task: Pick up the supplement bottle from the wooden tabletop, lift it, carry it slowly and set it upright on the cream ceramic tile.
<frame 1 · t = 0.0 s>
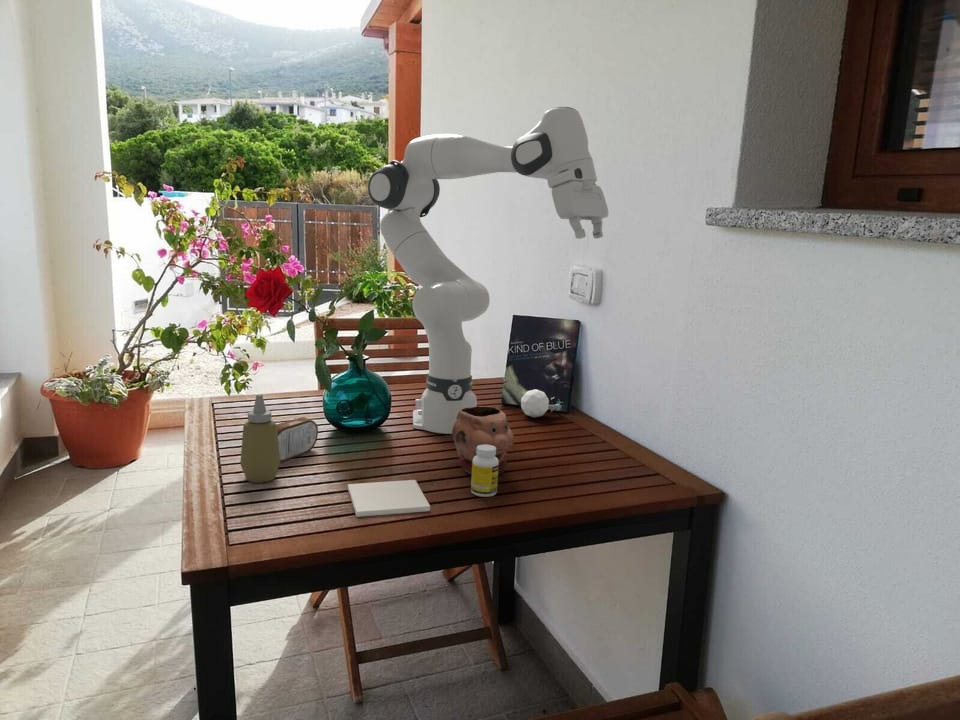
hand: (590, 238, 162), 52 cm above the table, fingers open, 8 cm apart
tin: (292, 457, 164), on the table
supplement bottle: (483, 493, 148), on the table
squeeze bottle: (260, 479, 150), on the table
tile: (387, 499, 142), on the table
perfume bottle: (540, 417, 206), on the table
decorative planter: (478, 469, 162), on the table
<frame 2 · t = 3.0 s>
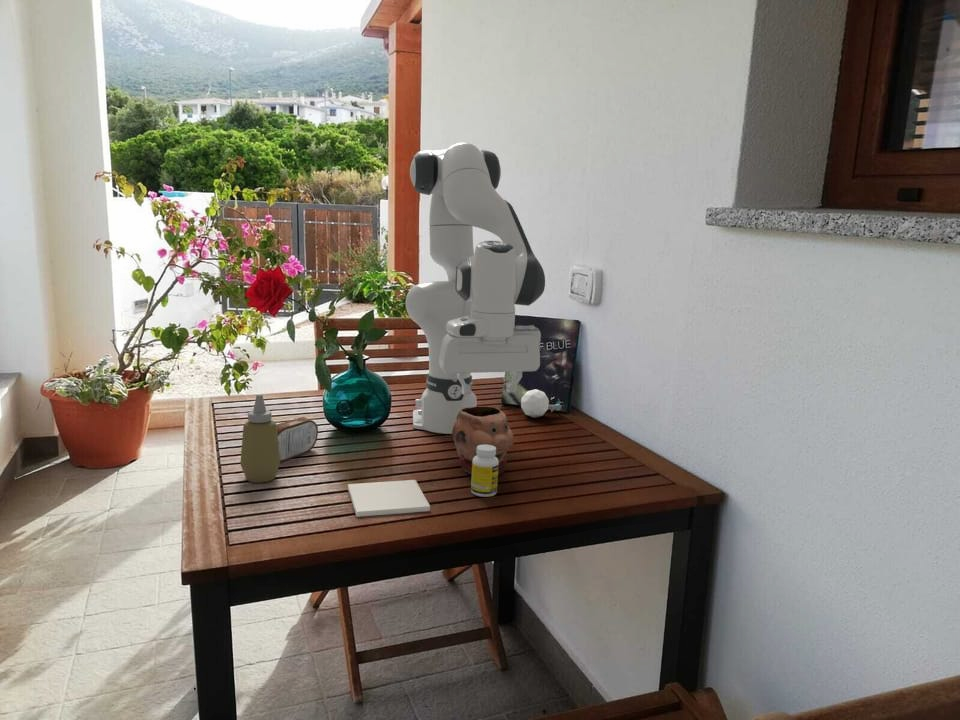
hand: (488, 393, 144), 21 cm above the table, fingers open, 8 cm apart
nothing on the table moved.
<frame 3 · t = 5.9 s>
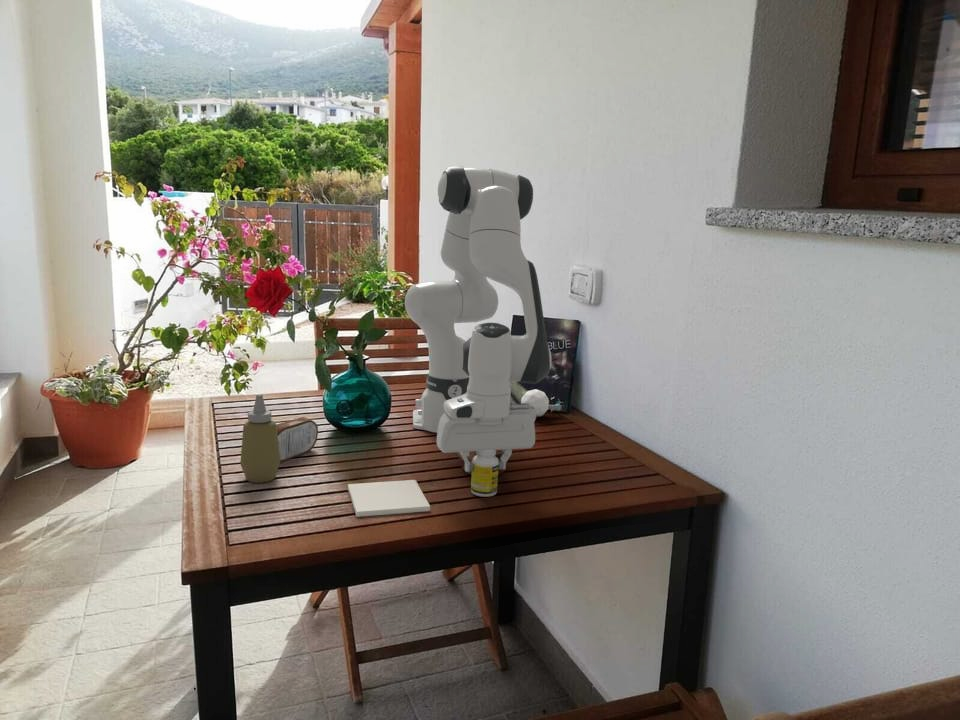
hand: (485, 469, 147), 5 cm above the table, fingers closed on supplement bottle, 5 cm apart
supplement bottle: (483, 493, 148), on the table, touching gripper
everything else where it was.
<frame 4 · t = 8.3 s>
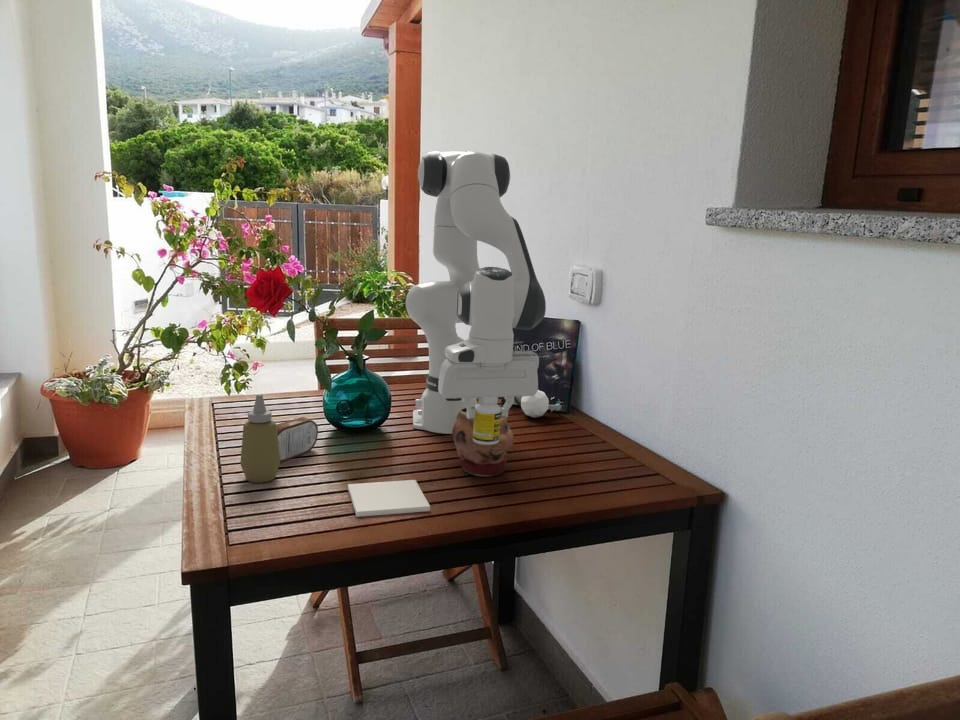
hand: (487, 417, 145), 16 cm above the table, fingers closed on supplement bottle, 5 cm apart
supplement bottle: (486, 442, 146), point 11 cm above the table, touching gripper
everything else where it was.
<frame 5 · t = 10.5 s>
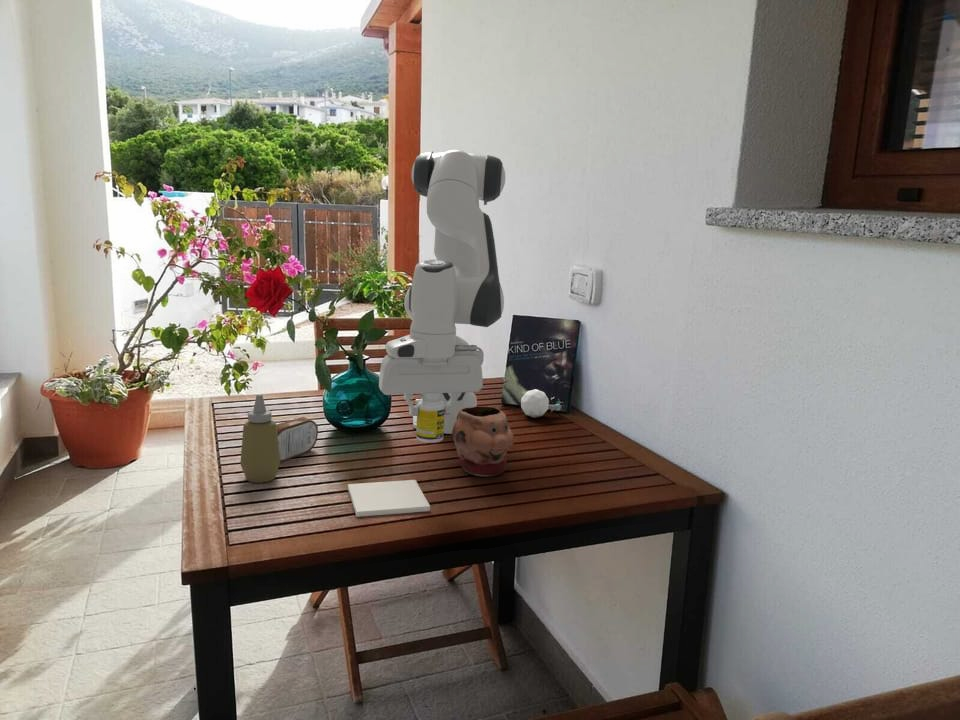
hand: (430, 414, 141), 17 cm above the table, fingers closed on supplement bottle, 5 cm apart
supplement bottle: (430, 440, 142), point 12 cm above the table, touching gripper
everything else where it was.
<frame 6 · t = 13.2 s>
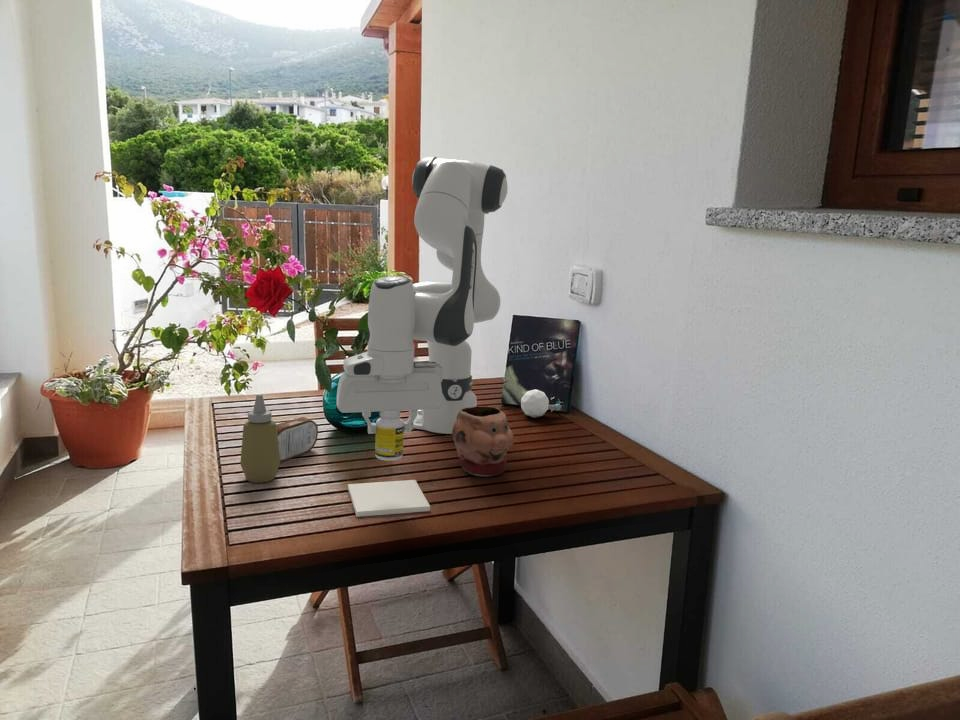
hand: (389, 432, 139), 14 cm above the table, fingers closed on supplement bottle, 5 cm apart
supplement bottle: (389, 457, 140), point 9 cm above the table, touching gripper
everything else where it was.
when the fingers open (7 cm above the table, at t = 15.5 s): supplement bottle stays where it is, resting on tile.
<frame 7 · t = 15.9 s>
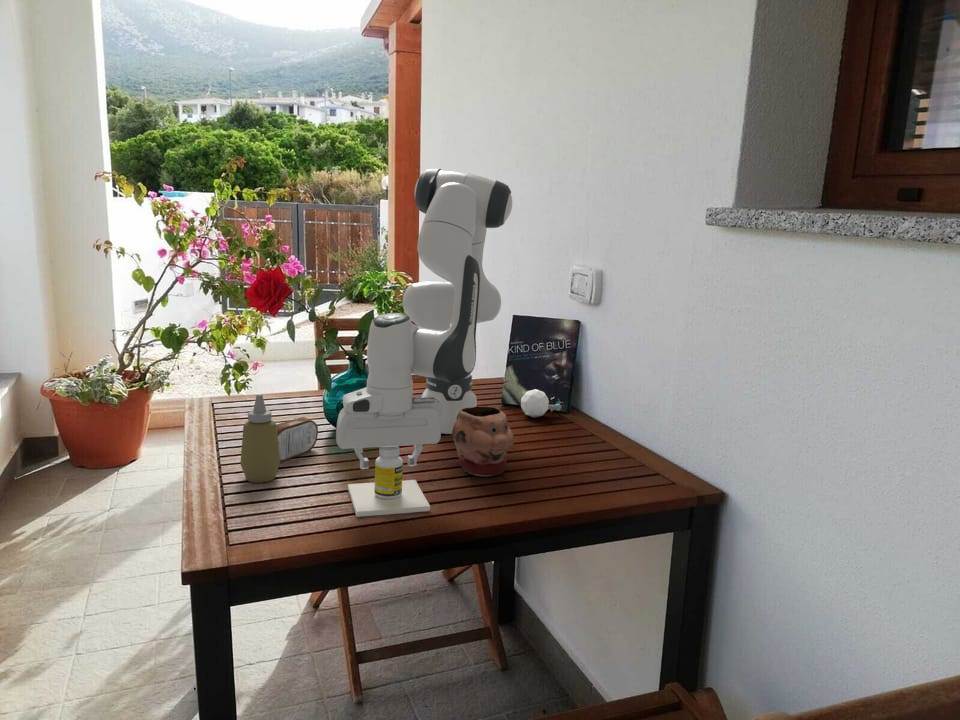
hand: (388, 466, 141), 7 cm above the table, fingers open, 8 cm apart
supplement bottle: (388, 495, 142), point 1 cm above the table, touching tile
everything else where it was.
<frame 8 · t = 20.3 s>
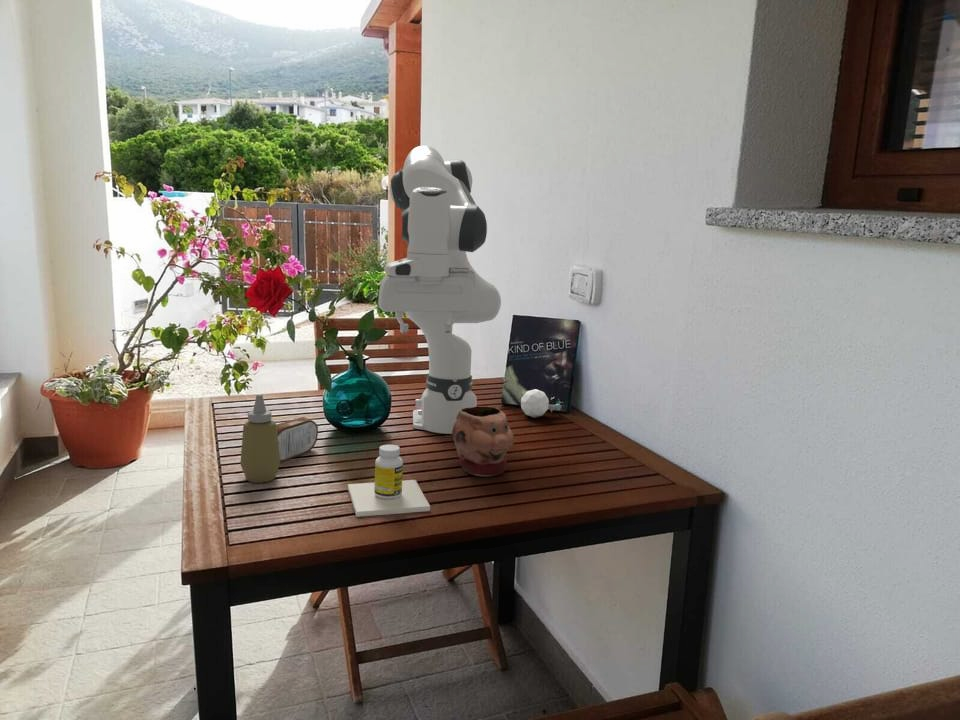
hand: (426, 332, 152), 31 cm above the table, fingers open, 8 cm apart
nothing on the table moved.
at the end: supplement bottle inside the target area on the tile (0.1 cm from its centre), point 0.8 cm above the tile's base; supplement bottle tilted 0°; the gripper is holding nothing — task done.
